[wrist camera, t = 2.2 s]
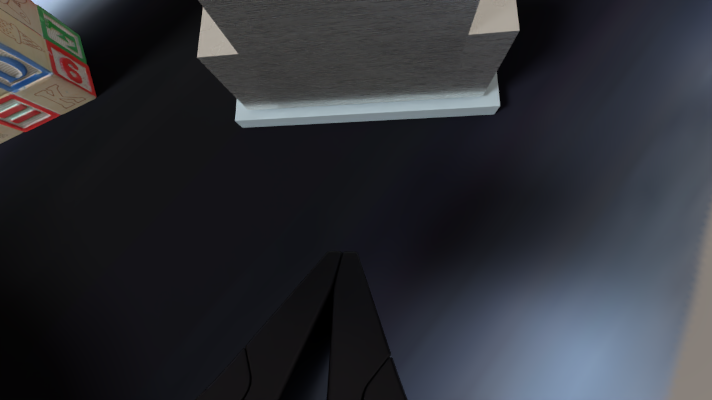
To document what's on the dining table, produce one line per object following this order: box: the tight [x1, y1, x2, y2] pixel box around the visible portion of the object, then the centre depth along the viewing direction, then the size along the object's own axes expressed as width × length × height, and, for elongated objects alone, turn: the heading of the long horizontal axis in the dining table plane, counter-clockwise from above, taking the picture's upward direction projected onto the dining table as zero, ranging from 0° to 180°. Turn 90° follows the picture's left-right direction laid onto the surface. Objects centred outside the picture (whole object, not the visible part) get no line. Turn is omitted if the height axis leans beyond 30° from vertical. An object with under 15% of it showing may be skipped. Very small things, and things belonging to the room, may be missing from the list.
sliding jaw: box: [197, 0, 520, 110], centre depth 14 cm, size 4×14×9 cm, turn 90°
